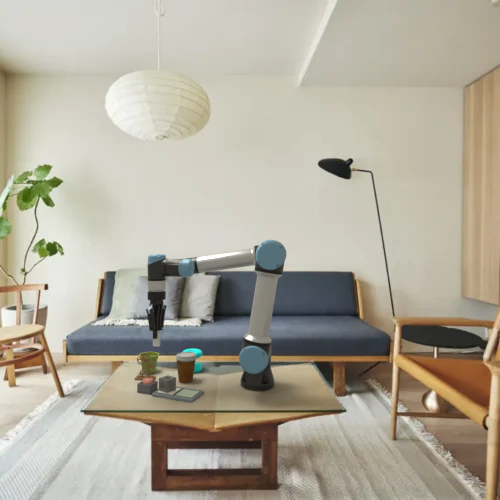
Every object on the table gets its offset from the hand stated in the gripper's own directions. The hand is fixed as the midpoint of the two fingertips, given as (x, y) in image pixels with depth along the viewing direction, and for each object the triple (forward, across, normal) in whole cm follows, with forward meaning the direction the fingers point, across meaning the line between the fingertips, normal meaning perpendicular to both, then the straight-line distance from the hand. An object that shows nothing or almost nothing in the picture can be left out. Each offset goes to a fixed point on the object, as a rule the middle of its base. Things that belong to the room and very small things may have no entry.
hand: (156, 345), depth 167 cm
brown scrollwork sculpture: (+19, -10, -12) cm, 24 cm away
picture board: (+19, +2, +11) cm, 22 cm away
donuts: (+19, -28, +3) cm, 34 cm away
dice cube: (+18, +2, +6) cm, 19 cm away
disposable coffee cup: (+19, -14, +6) cm, 25 cm away
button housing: (+18, +3, -3) cm, 19 cm away
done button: (+17, +3, -3) cm, 17 cm away
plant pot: (+19, -19, -15) cm, 30 cm away
